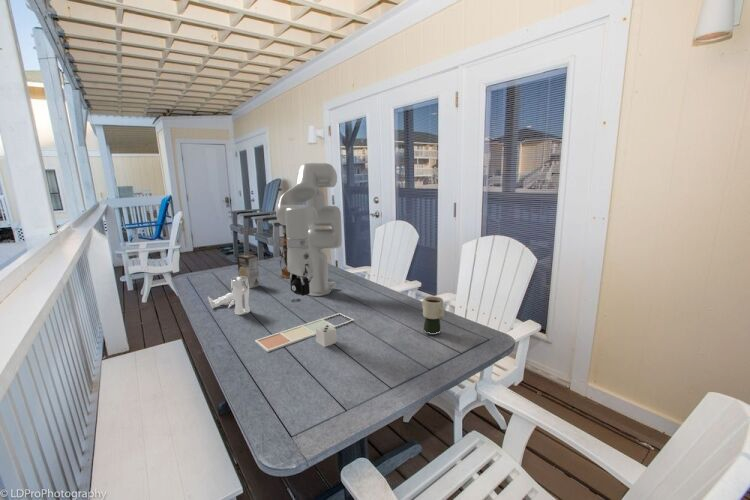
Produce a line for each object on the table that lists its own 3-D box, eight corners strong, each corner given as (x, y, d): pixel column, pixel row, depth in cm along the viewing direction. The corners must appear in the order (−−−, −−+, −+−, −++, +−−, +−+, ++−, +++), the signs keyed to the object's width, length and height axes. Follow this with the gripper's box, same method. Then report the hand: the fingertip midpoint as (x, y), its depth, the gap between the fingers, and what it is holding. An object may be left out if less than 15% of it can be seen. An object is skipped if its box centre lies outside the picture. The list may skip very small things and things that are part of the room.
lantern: (309, 276, 197) (306, 224, 190) (287, 280, 189) (284, 226, 182) (296, 270, 210) (293, 221, 203) (275, 273, 202) (272, 222, 196)
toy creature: (206, 294, 155) (233, 284, 160) (210, 306, 157) (237, 295, 162) (210, 302, 145) (238, 291, 151) (215, 314, 147) (243, 303, 153)
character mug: (449, 335, 125) (451, 301, 122) (436, 341, 121) (437, 306, 118) (428, 325, 134) (429, 293, 131) (414, 330, 129) (415, 297, 127)
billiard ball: (288, 294, 123) (287, 278, 122) (301, 290, 128) (300, 274, 126) (299, 298, 119) (299, 281, 118) (312, 293, 124) (311, 277, 123)
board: (339, 314, 144) (339, 312, 144) (354, 321, 137) (354, 319, 137) (254, 342, 120) (254, 340, 120) (267, 352, 113) (267, 350, 113)
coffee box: (238, 285, 180) (236, 255, 177) (248, 282, 186) (246, 253, 182) (250, 288, 176) (247, 258, 172) (260, 285, 181) (258, 255, 178)
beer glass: (245, 316, 142) (242, 281, 139) (230, 314, 143) (226, 280, 140) (254, 309, 148) (251, 276, 145) (239, 308, 150) (236, 275, 147)
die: (328, 337, 123) (327, 324, 122) (336, 342, 120) (336, 328, 119) (316, 342, 120) (315, 328, 119) (324, 347, 116) (324, 333, 115)
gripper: (321, 245, 116) (323, 295, 120) (294, 238, 128) (296, 284, 132) (302, 248, 111) (304, 301, 115) (275, 240, 123) (278, 289, 127)
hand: (300, 291), depth 123 cm, fingers closed on billiard ball, 6 cm apart
